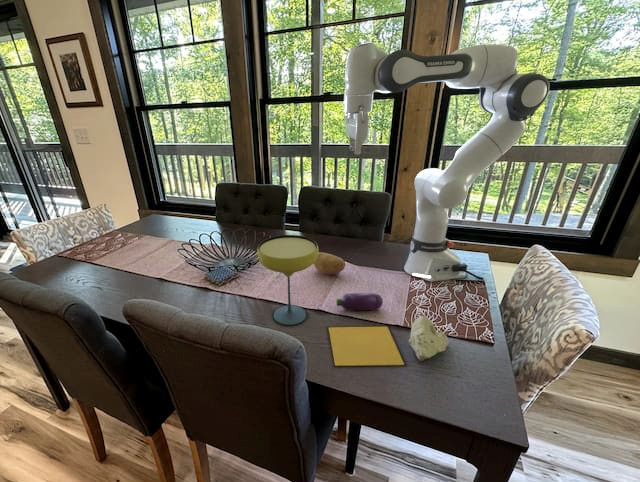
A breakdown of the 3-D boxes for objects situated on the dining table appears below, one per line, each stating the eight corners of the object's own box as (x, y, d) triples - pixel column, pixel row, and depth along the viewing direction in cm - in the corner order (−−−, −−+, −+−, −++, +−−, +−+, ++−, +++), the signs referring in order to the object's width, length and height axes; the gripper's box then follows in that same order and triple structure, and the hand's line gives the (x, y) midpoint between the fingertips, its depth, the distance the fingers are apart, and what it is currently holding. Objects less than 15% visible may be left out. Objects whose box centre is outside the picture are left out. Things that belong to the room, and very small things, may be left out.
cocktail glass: (315, 334, 94) (316, 260, 82) (256, 330, 97) (249, 257, 85) (318, 301, 109) (320, 235, 98) (268, 298, 113) (264, 233, 101)
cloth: (387, 326, 96) (387, 326, 96) (404, 365, 81) (404, 364, 81) (328, 327, 96) (328, 327, 96) (335, 366, 82) (335, 365, 82)
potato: (338, 282, 121) (339, 264, 117) (307, 273, 129) (307, 255, 125) (349, 272, 128) (350, 254, 124) (319, 264, 135) (320, 247, 132)
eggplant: (379, 303, 107) (381, 289, 104) (383, 313, 102) (385, 298, 99) (335, 304, 108) (336, 290, 105) (337, 314, 103) (338, 299, 100)
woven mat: (219, 286, 122) (218, 282, 121) (203, 278, 128) (202, 274, 127) (239, 276, 128) (239, 272, 127) (223, 269, 135) (223, 265, 134)
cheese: (422, 335, 94) (390, 314, 89) (445, 325, 90) (412, 303, 84) (435, 384, 84) (399, 364, 78) (461, 375, 79) (425, 354, 74)
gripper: (375, 105, 89) (371, 156, 96) (361, 105, 108) (358, 148, 114) (353, 106, 90) (350, 157, 96) (343, 106, 108) (341, 149, 114)
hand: (354, 152), depth 105 cm, fingers open, 8 cm apart
